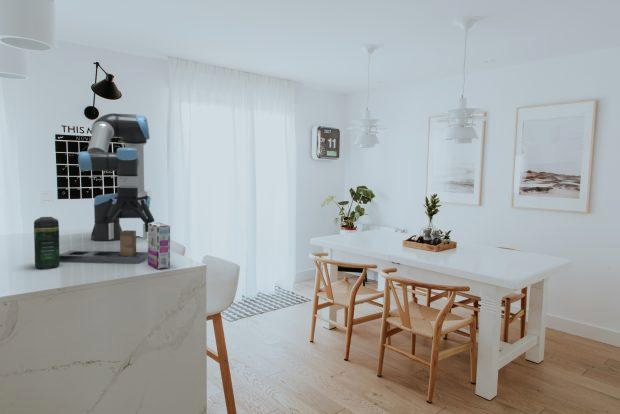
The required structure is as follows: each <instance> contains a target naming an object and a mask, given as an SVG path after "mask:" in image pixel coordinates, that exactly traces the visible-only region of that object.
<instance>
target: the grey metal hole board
mask: <svg viewBox="0 0 620 414" xmlns="http://www.w3.org/2000/svg"><path fill="white" fill-rule="evenodd" d="M59 254H60V255H59V256H60V263H86V264H87V263H91V264H92V263H94V264H95V263H97V264H132V265H133V264H136V265H139V264H141V263H143V262H144V261H146V260H148V251H147V252H145V251H138V252H137V251H136V255H134V256H120V251H110V250H109V251H106V250H104V251H103V250H68V251H65V252H63V253H59Z"/></svg>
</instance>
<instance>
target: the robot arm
mask: <svg viewBox="0 0 620 414" xmlns="http://www.w3.org/2000/svg"><path fill="white" fill-rule="evenodd" d="M90 131H91V137H90V139H89V143H88V147H87V151H80V152H78V157H77V159H78V160H77V162H78V168H79V169H80V170H81V171H90V172H91V171H101V172H102V171H105V172H107V171H108V172H116V184H117V185H116V186H118V187H117V189H116V190H117V191H116V193H106V194H100V195H97V196H95V197H94V199H93V208H94V211H93V213H94V214H93V215H94V224H93V228H92V231H91V234H90V240H91V241H96V242H97V241H98V242H99V241H101V242H105V241H109V242H111V241H118V240H119V241H120V232H122V231H123V229H122V227H121V224H120V222H121V221H120V219H141V220H142V222H143V224H142V241H148V223H155V218H154V216H153V214H152V213H151V210H150V206H151V196H149V195H148V192H147V191H146V190H145V160H144V159H145V158H144V156H145V155H144V153H145V151H144V146H145V145H146V144H147V142H148V140H150V129H149V124H148V118H147V117H146V116H145V115H140V114H132V113H131V114H130V113H127V114H126V113H106V114H104V115H102V116H100V117H98V118H97V119H96V120H95V121H94V122H93V123H92V126H91V129H90ZM112 138H113V139H114V138H117V139H121V143H122V144H123V145H124V147H118V148H117V149H116V152H109V147H110V142H111V139H112Z"/></svg>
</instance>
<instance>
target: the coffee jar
mask: <svg viewBox="0 0 620 414" xmlns="http://www.w3.org/2000/svg"><path fill="white" fill-rule="evenodd" d="M59 223H60V222H59V220H58V219H57V218H56V217H55V218H54V216H40V217H38V218H36V219H35V220H34V221H33V238H34V239H33V240H34V241H33V242H34V243H33V244H34V245H33V247H34V266H35V268H36V269H52V268H56V267H59V265H60V263H61V262H60V256H59V255H60V254H61V253H60V225H59Z"/></svg>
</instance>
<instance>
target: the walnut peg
mask: <svg viewBox="0 0 620 414" xmlns="http://www.w3.org/2000/svg"><path fill="white" fill-rule="evenodd" d="M119 248H120V249H119V252H120V256H134V255H136V252H137V230H128V229H126V230H122V232H120V239H119Z"/></svg>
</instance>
